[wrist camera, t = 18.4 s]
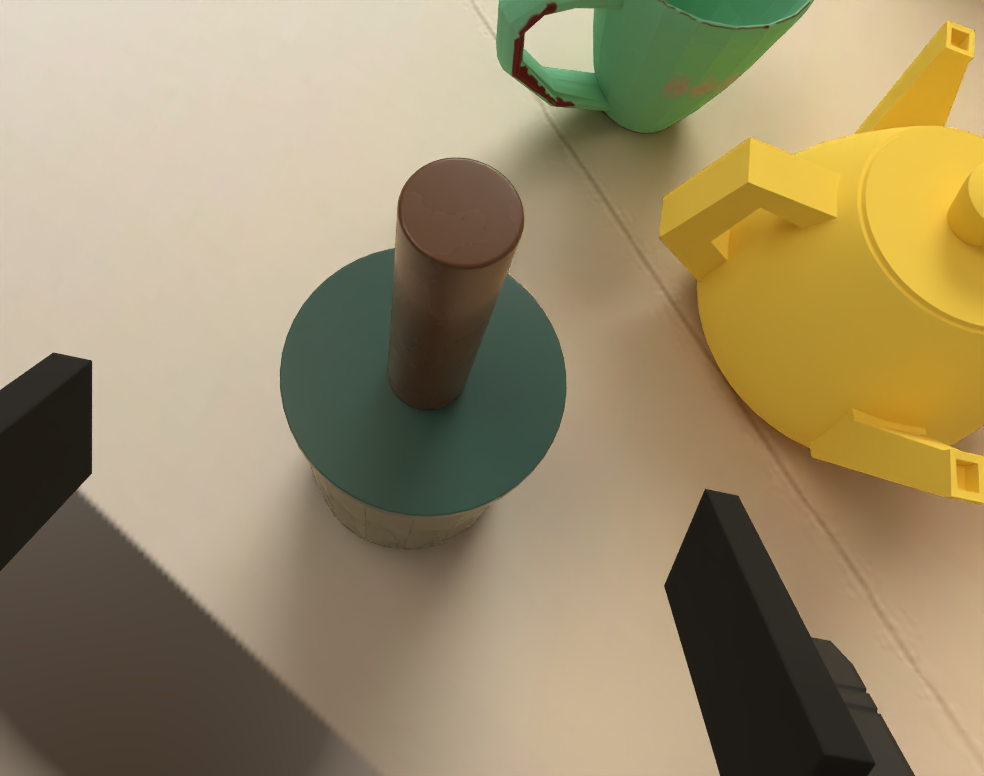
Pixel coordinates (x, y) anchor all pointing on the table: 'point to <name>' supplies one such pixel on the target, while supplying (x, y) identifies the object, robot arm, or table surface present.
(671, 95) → the mug
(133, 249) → the table surface
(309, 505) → the table surface
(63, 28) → the table surface
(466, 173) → the ring toss peg stand
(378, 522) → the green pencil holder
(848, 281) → the teapot
